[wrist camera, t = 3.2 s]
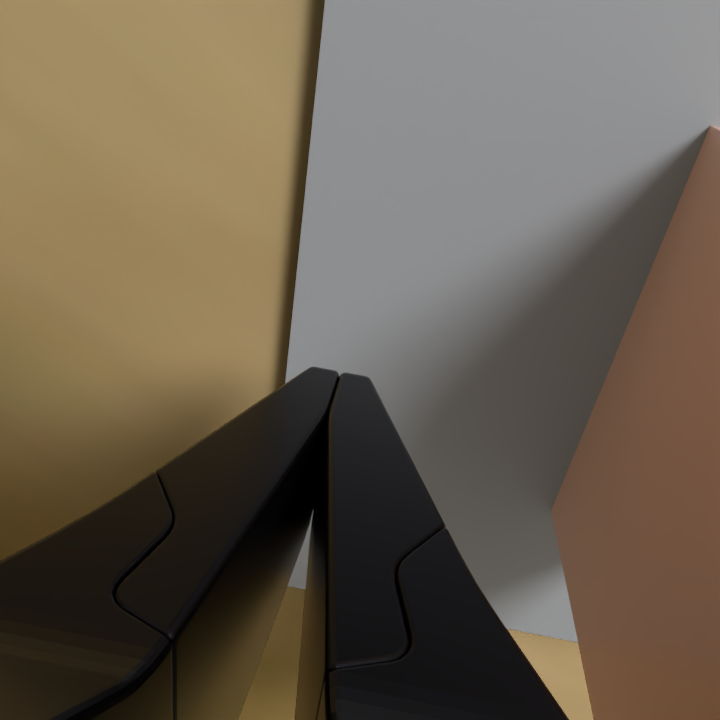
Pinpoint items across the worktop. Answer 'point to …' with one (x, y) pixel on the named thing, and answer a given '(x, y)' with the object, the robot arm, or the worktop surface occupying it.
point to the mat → (494, 241)
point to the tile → (655, 486)
